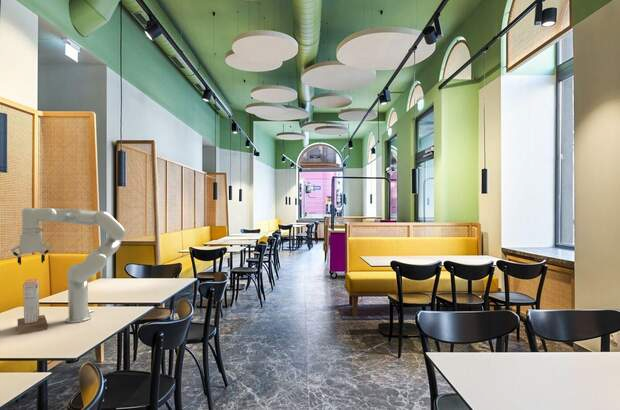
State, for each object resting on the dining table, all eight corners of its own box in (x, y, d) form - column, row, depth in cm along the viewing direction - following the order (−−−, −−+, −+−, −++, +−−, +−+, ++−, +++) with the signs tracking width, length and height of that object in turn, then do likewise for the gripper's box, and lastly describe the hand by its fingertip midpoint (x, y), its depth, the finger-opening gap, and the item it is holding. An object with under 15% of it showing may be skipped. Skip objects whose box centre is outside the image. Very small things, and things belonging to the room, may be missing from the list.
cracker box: (26, 318, 211) (25, 279, 211) (39, 316, 214) (39, 278, 214) (23, 324, 199) (22, 283, 199) (37, 322, 202) (36, 282, 202)
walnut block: (17, 326, 210) (17, 318, 210) (44, 321, 217) (44, 314, 217) (18, 334, 196) (18, 326, 196) (47, 329, 203) (47, 321, 203)
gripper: (49, 230, 215) (50, 261, 215) (10, 232, 204) (10, 264, 204) (51, 230, 209) (51, 262, 209) (10, 232, 198) (11, 266, 198)
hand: (31, 263), depth 207 cm, fingers open, 9 cm apart
